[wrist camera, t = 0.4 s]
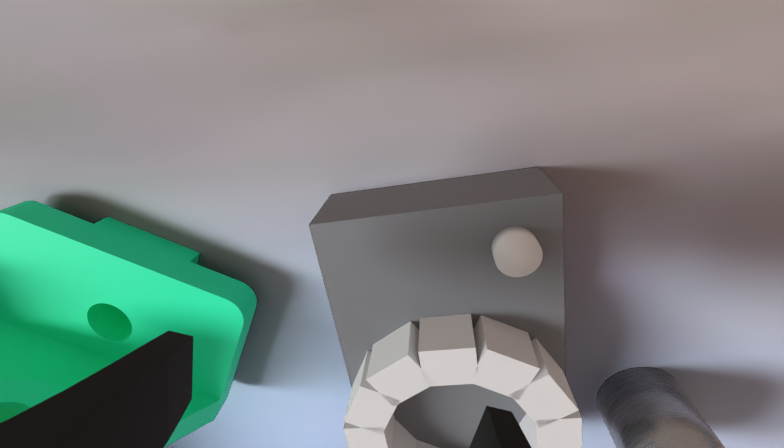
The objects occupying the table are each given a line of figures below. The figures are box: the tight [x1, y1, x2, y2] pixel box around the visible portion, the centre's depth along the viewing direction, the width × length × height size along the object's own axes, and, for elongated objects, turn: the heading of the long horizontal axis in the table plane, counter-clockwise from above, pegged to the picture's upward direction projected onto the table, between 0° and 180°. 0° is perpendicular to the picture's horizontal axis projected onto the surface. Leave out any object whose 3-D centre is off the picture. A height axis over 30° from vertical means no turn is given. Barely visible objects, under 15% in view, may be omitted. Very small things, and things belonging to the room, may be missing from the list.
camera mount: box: [0, 201, 257, 447], centre depth 17 cm, size 12×8×10 cm, turn 68°
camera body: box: [309, 167, 582, 448], centre depth 18 cm, size 14×9×6 cm, turn 10°
